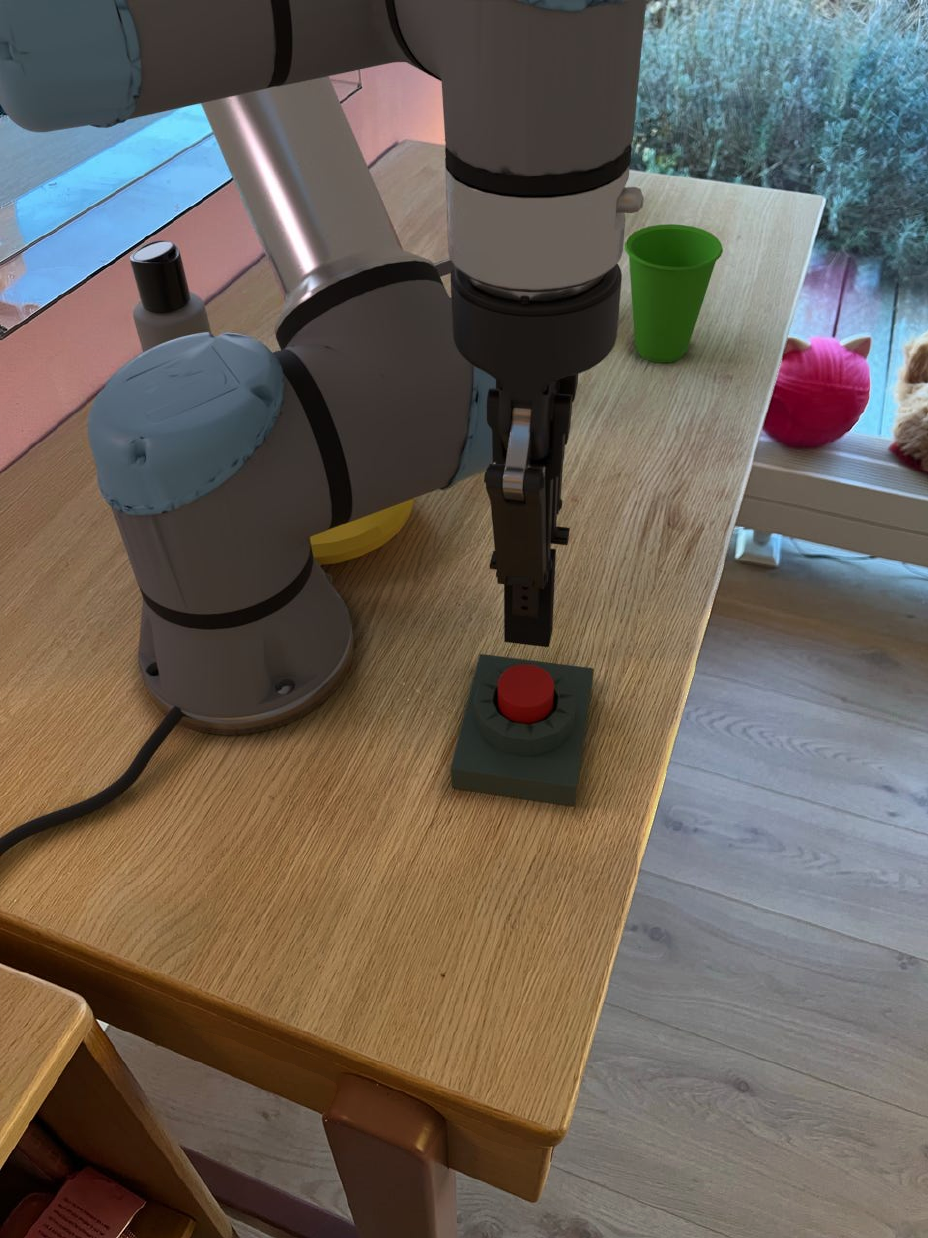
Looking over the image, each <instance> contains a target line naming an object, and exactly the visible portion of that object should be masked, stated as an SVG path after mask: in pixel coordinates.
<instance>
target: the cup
mask: <svg viewBox="0 0 928 1238" xmlns="http://www.w3.org/2000/svg"><path fill="white" fill-rule="evenodd" d="M624 250H625V252H626V254H627V256H628V261H629V276H630V277H629V278H630V290H631V304H632V319H633V332H634V333H633V335H634V347H635V349H636V352H637V353H638V355H639V356H641V358H643V359H645V360H646V361H649V362H654V363H661V364H664V363H672V362H675V361H678V360H680V359H682V358H683V357H684V356H685V354H686V353H687V351H688V349H689V346H690V344H691V343H690V342H691V339H692V336H693V333H694V330H695V328H696V325H697V321H698V318H699V315H700V312H701V309H702V305H703V303H704V300H705V297H706V293H707V290H708V287H709V284H710V282H711V281H710V280H711V278H712V274H713V272H714V268H715V266H716V262H717V261H718V260H719V259H720V258H721V257H722V254H723V252H724V250H723V245H722V242H721V241H720V239H719V238H718V237H717V236H716V235H714V234H712V233H711V232H709V231H707V230H706V229H701V228H699V227H696V226H690V225H685V224H676V223H675V224H673V223H670V224H669V223H667V224H666V223H665V224H656V225H650V226H647V227H643V228H640V229H638V230H636V231H634V232H633V233H632V234H631V235H629V236H628V238H627V239H626V241H625V243H624Z"/></svg>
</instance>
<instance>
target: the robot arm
mask: <svg viewBox="0 0 928 1238" xmlns="http://www.w3.org/2000/svg"><path fill="white" fill-rule="evenodd" d="M646 6H647V0H0V107H1V108H2V110H3V112H4V113H5V114H6V116H7V117H9V119H10V121H12V122H14V123H15V124H16V125H17V126H18V127H20V128H22V129H23V130H26V131H28V132H32V133H49V132H56V131H63V130H69V129H74V128H75V129H76V128H79V127H80V128H81V127H87V126H91V127H94V128H98V129H100V128H101V129H107V128H108V129H109V128H111V127H114V126H116V125H118V124H122V123H125V122H126V121H129V120H132V119H137V118H141V117H145V116H151V115H155V114H159V113H164V112H168V111H172V110H178V109H181V108H182V109H183V108H186V107H190V106H195V105H201V107H202V110H203V112H204V115H205V116H206V119H207V121H208V124H209V126H210V128H211V131H212V132H213V135H214V138H215V140H216V142H217V144H218V147H219V149H220V152H221V154H222V157H223V159H224V161H225V164H226V166H227V168H228V170H229V173H230V176H231V177H232V180H233V182H234V184H235V185H234V186H235V187H236V189H237V191H238V194H239V196H240V199H241V202H242V203H243V206H244V208H245V210H246V213H247V215H248V217H249V220H250V222H251V225H252V227H253V229H254V232H255V234H256V236H257V238H258V241H259V243H260V245H261V248H262V251H263V253H264V255H265V257H266V259H267V263H268V264H269V267H270V269H271V271H272V274H273V276H274V278H275V281H276V284H277V286H278V287H279V291H280V293H281V295H282V297H283V300H284V305H283V307H282V310H281V312H280V315H279V317H278V319H277V321H276V323H275V326H274V335H275V339H276V343H277V344H278V346H279V349H280V350H276V351H273V352H272V351H271V349H270V348H269V347H267V345H265V344H264V343H263V342H262V341H260V340H258V339H256V338H255V337H252V336H250V335H246V334H243V333H237V332H231V331H224V332H223V333H220V334H219V335H218V336H214V335H213V334H212V332H211V333H209V332H206V333H198V334H193V335H188V336H184V337H180V338H176V339H173V340H170V341H168V342H165V343H162V344H160V345H157V346H155V347H153V348H151V349H149V350H147V351H145V352H143V351H142V352H141V353H140V354H138V355H137V356H135V357H133V358H132V359H130V360H129V361H128V362H126V363H125V364H124V365H122V366H121V367H120V368H119V369H117V370H116V372H114V373H113V374H112V375H111V376H110V377H109V378H108V380H107V381H106V383H105V385H104V387H103V388H102V389H101V390H100V391H99V392H98V393H97V395H96V397H95V398H94V400H93V402H92V404H91V407H90V410H89V414H88V417H87V419H88V420H87V438H88V442H89V443H88V444H89V447H90V450H91V453H92V458H93V461H94V464H95V468H96V480H97V485H98V488H99V491H100V492H101V495H102V497H103V499H104V500H105V502H106V503H107V505H109V506H110V508H111V511H112V514H113V517H114V520H115V523H116V525H117V528H118V531H119V534H120V536H121V541H122V543H123V546H124V548H125V551H126V554H127V557H128V560H129V562H130V563H129V564H130V566H131V568H132V572H133V574H134V577H135V579H136V582H137V585H138V588H139V591H140V593H141V596H142V603H141V615H140V626H139V627H140V628H139V640H138V650H137V657H138V659H137V660H138V661H137V662H138V666H139V671H140V674H141V676H142V679H143V682H144V685H145V687H146V689H147V691H148V693H149V696H150V698H151V699H152V701H153V702H154V704H155V705H156V707H157V708H158V709H159V710H160V711H161V712H162V713H164V714H165V715H166V716H165V717H164V718H163V720H162V721H161V722H160V723H159V724H158V726H157V727H156V728H155V730H154V731H153V732H152V733H151V735H150V736H149V737H148V738H147V740H146V741H145V742H144V744H143V745H142V746H141V748H140V750H139V751H138V752H137V754H136V756H135V757H134V759H133V760H132V762H131V763H130V765H129V766H128V768H127V769H126V770H125V771H124V772H123V774H122V775H121V776H119V778H118V779H117V780H115V781H114V782H113V783H111V785H109V786H108V787H106V788H105V789H102V791H101V790H100V791H99V792H98V793H96V794H95V795H93V796H91V797H89V798H86V799H84V800H82V801H79V802H77V803H75V804H72V805H69V806H66V807H63V808H61V809H57V810H55V811H52V812H50V813H47V814H44V815H41V816H39V817H36V818H34V819H31V820H29V821H27V822H24V823H23V824H21V825H19V826H16V827H14V828H13V829H11V830H10V831H8V832H7V833H6V834H4V835H2V836H1V837H0V858H1V857H2V856H3V855H4V854H6V853H7V852H8V851H9V850H10V849H12V848H13V847H14V846H16V845H17V844H19V843H22V841H25V840H27V839H28V838H30V837H32V836H34V835H37V834H40V833H41V832H44V831H47V830H50V829H51V828H54V827H58V826H61V825H63V824H66V823H68V822H71V821H74V820H76V819H79V818H83V817H84V816H86V815H89V814H91V813H94V812H96V811H98V810H100V809H101V808H103V807H105V806H107V805H108V804H110V803H112V802H113V801H115V800H116V799H117V798H119V797H120V796H122V795H123V794H124V793H125V792H126V791H128V789H130V788H131V787H132V786H133V785H134V784H135V783H136V781H137V780H138V779H139V778H140V776H141V775H142V774H143V772H144V770H145V769H146V767H147V766H148V764H149V763H150V761H151V759H152V758H153V756H154V755H155V754H156V752H157V750H158V749H159V748H160V747H161V746H162V744H163V743H164V741H166V739H167V738H168V736H169V735H170V734H171V732H172V731H173V730H174V729H175V727H176V726H177V725H178V724H180V725H182V726H184V727H187V728H189V729H192V730H196V731H198V732H202V733H207V734H213V735H223V736H225V735H226V736H237V735H249V734H256V733H260V732H266V731H269V730H272V729H276V728H279V727H281V726H284V725H287V724H290V723H291V722H294V721H296V720H298V719H300V718H302V717H303V716H305V715H308V714H309V713H310V712H311V711H313V710H315V709H316V708H318V707H319V706H321V705H322V703H324V702H325V701H326V700H327V699H328V698H329V697H330V696H331V695H332V694H333V693H334V692H335V691H336V690H337V689H338V687H339V686H340V684H341V683H342V682H343V681H344V679H345V677H346V675H347V673H348V671H349V668H350V666H351V664H352V661H353V657H354V648H355V647H354V646H355V641H354V633H353V626H352V621H351V614H350V611H349V609H348V606H347V604H346V603H345V601H344V599H343V598H342V597H341V594H340V593H339V592H338V591H337V589H335V587H334V586H333V578H332V574H329V573H327V572H325V571H324V570H323V567H321V565H319V564H318V562H317V561H316V559H315V558H314V556H313V552H312V547H311V541H310V537H311V536H314V535H316V534H319V533H322V532H325V531H327V530H329V529H332V528H334V527H337V526H340V525H342V524H347V523H349V522H352V521H355V520H357V519H360V518H363V517H365V516H368V515H371V514H373V513H376V512H379V511H381V510H384V509H387V508H389V507H392V506H395V505H397V504H400V503H403V502H405V501H408V500H411V499H413V498H414V499H416V498H419V497H421V496H424V495H427V494H429V493H431V492H435V491H437V490H442V491H447V490H449V489H452V488H453V487H454V486H455V485H456V484H458V483H459V482H462V481H463V480H467V479H468V478H471V477H473V476H475V475H477V474H479V473H482V472H484V471H485V472H484V475H483V476H484V478H483V482H484V483H485V489H486V493H487V495H488V498H489V500H490V501H489V502H490V510H491V523H492V534H493V547H494V550H492V554H491V558H490V562H489V569H490V570H495V577H496V581H497V585H503V642H504V643H508V644H516V645H525V646H534V647H542V648H550V644H551V639H552V634H553V627H554V623H553V622H554V603H555V582H556V580H555V579H556V578H555V577H556V557H557V548H552V545H560V546H568V544H569V540H570V539H569V538H570V529H571V528H570V527H565V526H557V519H558V515H560V511H561V510H562V508H563V499H562V485H563V484H562V483H563V473H564V471H563V470H564V460H565V452H566V451H565V449H566V445H567V444H568V440H569V436H570V431H571V425H572V423H571V422H572V412H573V403H574V402H575V398H576V395H577V390H578V385H579V374H582V373H584V372H585V371H589V370H590V369H592V368H594V367H595V366H597V365H599V364H600V363H601V362H602V361H604V360H605V359H606V357H608V356H609V354H610V353H611V351H612V350H613V349H614V347H615V344H616V341H617V337H618V328H619V317H620V316H619V315H620V306H621V305H620V304H621V303H620V302H621V291H622V280H623V273H622V269H621V267H620V265H619V264H618V263H619V261H620V260H621V258H622V256H623V253H624V252H623V251H624V245H625V243H624V242H625V232H626V214H634V213H638V212H640V210H641V209H642V208H643V206H644V194H643V192H642V189H641V188H640V187H636V186H629V187H627V186H626V185H627V182H628V180H629V178H630V165H631V159H632V148H633V142H634V133H635V123H636V114H637V113H636V112H637V102H638V94H639V93H638V91H639V83H640V82H639V81H640V71H641V60H642V50H643V49H642V48H643V38H644V28H645V19H646V8H647V7H646ZM393 63H406V64H408V65H410V66H412V67H414V68H416V69H418V70H420V71H422V72H423V73H425V74H427V75H428V76H430V77H433V78H434V79H436V80H437V81H439V82H441V94H442V95H441V96H442V111H443V112H442V113H443V127H444V129H443V130H444V142H445V143H444V144H445V145H444V146H445V147H444V152H445V154H444V156H445V157H444V164H445V165H444V166H445V167H444V168H445V169H444V170H445V198H446V199H445V200H446V228H447V231H446V232H447V251H448V258H450V259H451V261H452V262H453V264H454V267H453V269H452V272H451V273H450V296H449V294H448V292H447V290H446V287H445V285H444V283H443V280H442V278H441V277H440V276H439V273H438V271H437V269H436V267H435V265H434V264H435V263H434V262H432V260H430V259H427V258H425V257H423V256H420V255H417V254H414V253H412V252H409V251H406V250H404V248H403V246H402V244H401V241H400V238H399V236H398V234H397V232H396V229H395V227H394V225H393V223H392V220H391V217H390V216H389V214H388V211H387V209H386V206H385V204H384V201H383V200H382V196H381V194H380V192H379V190H378V188H377V185H376V182H375V180H374V178H373V176H372V174H371V171H370V169H369V167H368V164H367V162H366V160H365V157H364V155H363V152H362V150H361V148H360V146H359V142H358V141H357V138H356V137H355V134H354V131H353V130H352V127H351V124H350V122H349V121H348V117H347V115H346V113H345V111H344V108H343V106H342V103H341V102H340V99H339V96H338V94H337V91H336V90H335V87H334V85H333V83H332V80H331V78H330V77H331V76H336V75H340V74H345V73H350V72H354V71H360V70H365V69H369V68H372V67H378V66H379V67H380V66H382V65H387V64H393Z"/></svg>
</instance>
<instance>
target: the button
mask: <svg viewBox="0 0 928 1238" xmlns="http://www.w3.org/2000/svg"><path fill="white" fill-rule="evenodd" d="M553 699H554V682H553V679H552V677H551V676H550V675H549V673H548V672H546V671H545V670H544V669H542V668H540V667H538V666H534V665H528V664H522V665H516V666H513V667H511V668H509V669H507V670H506V671H505V672H504V673H503V674H502V675H501V676H500V678H499V681H498V707H499V709H500V711H501V712H502V714H503V715H504V716H505V717H506V718H508V719H510V720H511V721H514V722H517V723H522V724H530V723H535V722H538V721H540V720H542V719H544V718H545V717H546V716H548V714H549V713H550V712H551V710H552V708H553Z"/></svg>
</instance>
